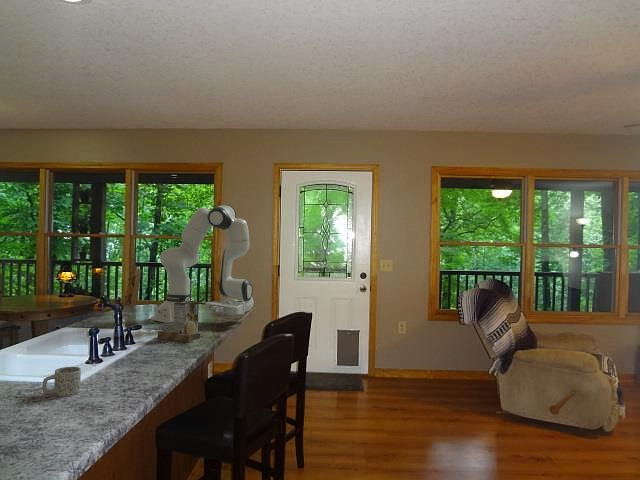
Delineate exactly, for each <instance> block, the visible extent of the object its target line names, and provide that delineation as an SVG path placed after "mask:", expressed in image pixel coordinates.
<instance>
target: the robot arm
mask: <svg viewBox="0 0 640 480" xmlns="http://www.w3.org/2000/svg"><path fill="white" fill-rule="evenodd" d="M211 227H214V228H216V229H220V230H223V231H225V230H226V231H227V239H228V240H227V246H226V248H225V250H224V251H223V254H222V260H221V270H220V271H221V272H220V278H219V282H218V283H219V284H218V291H219V293H220V294H221V296H223V297H228V298H225V299H224V300H223V302H220V301H207V302H205V303H204V310H206V311H210V312H215V313H216V312H217V313H224V314H225V315H226V316H235V315H236V316H237V315H238V316H244V315H245V314H246V313H247V312H248V311H250V310H251V309H253V307H254V304H255V303H254V298H253V292H254V291H253V286H252V285H253V284H252V283H251V282H250V280H248V279H245V278H244V279H243V278H242V279H241V278H233V277H232V270H233V263H234V261H235V260H236V259H238V258H240V257H243V256H245V255H246V254H247V253H248V252H249V250H250V230H249V227H248V223H247V221H246V220H245V219H244V218H240V217H239V218H237V212H236V209H235V208H234V207H233V206H232V205H230V204H229V205H228V204H222V205H218V206H215V207H213V208H211V209H208V208H207V207H199V208H197V209H196V211H194V213H193V214H192V215H191V217H190V218H189V220H188V222H187V223H186V225H185V227H184V229H183V231H182V233H181V240H182V241H181V244H180V245H179V246H178V247H169V248H165V249H164V250H163V251H162V252H161V253H160V256H159V258H160V259H159V260H160V263H161V265H162V266H163V267H164V269H165V270H166V271H165V272H166V275H167V278H168V293H167V294H164V298H165V300H164V301H163V302H162V303H161V304H159V305H158V306H157V307H156V308H155V313H154V316H153V315H152V316H150V320H152V321H156V322H161V323H166V324H168V323H171V324H173V323H174V303H177V302H183V301H192V295H191V279H190V277H189V276H188V275H187V272H186V271H187V270H186V268H191V267H193V266H195V265H196V264H198V263H199V259H200V254H199V250H200V247H201V244H202V242H203V240H204V239H205V238H206V235H207V233H208V231H209V230H210V228H211Z"/></svg>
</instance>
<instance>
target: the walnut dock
mask: <svg viewBox="0 0 640 480" xmlns="http://www.w3.org/2000/svg"><path fill="white" fill-rule="evenodd" d="M200 338H201V333H199V332H198V333H197V334H193V335H188V334H181V333H175V332H174V330H173V331H168V330H158V331H157V339H162V340H168V341H174V342H181V343H187V344H190V343H193V341H194V340H199V339H200Z"/></svg>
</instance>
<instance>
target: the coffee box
mask: <svg viewBox="0 0 640 480" xmlns="http://www.w3.org/2000/svg"><path fill="white" fill-rule="evenodd" d="M199 307H200V306H199V301H195V300H190V301H183V302H177V303H174V322H173V331H174V332H175V333H181V334H188V335H193V334H197V333H199Z"/></svg>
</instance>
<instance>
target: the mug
mask: <svg viewBox="0 0 640 480" xmlns="http://www.w3.org/2000/svg"><path fill="white" fill-rule="evenodd" d="M81 372H82V369H81V367H79V366H65V367H60V368H56V369H55V370H54V374H51V375H49V376H46V377H44V378H43V379H42V393H43V395H54V396H56V397H59V398H61V397H63V398H64V397H72V396H75V395H78V394H79V393H81V374H82V373H81ZM50 380H54V383H53V384H54V385H53V386H54V388H52V389H49V390H48V389H47V385H48V382H49V381H50Z"/></svg>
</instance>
